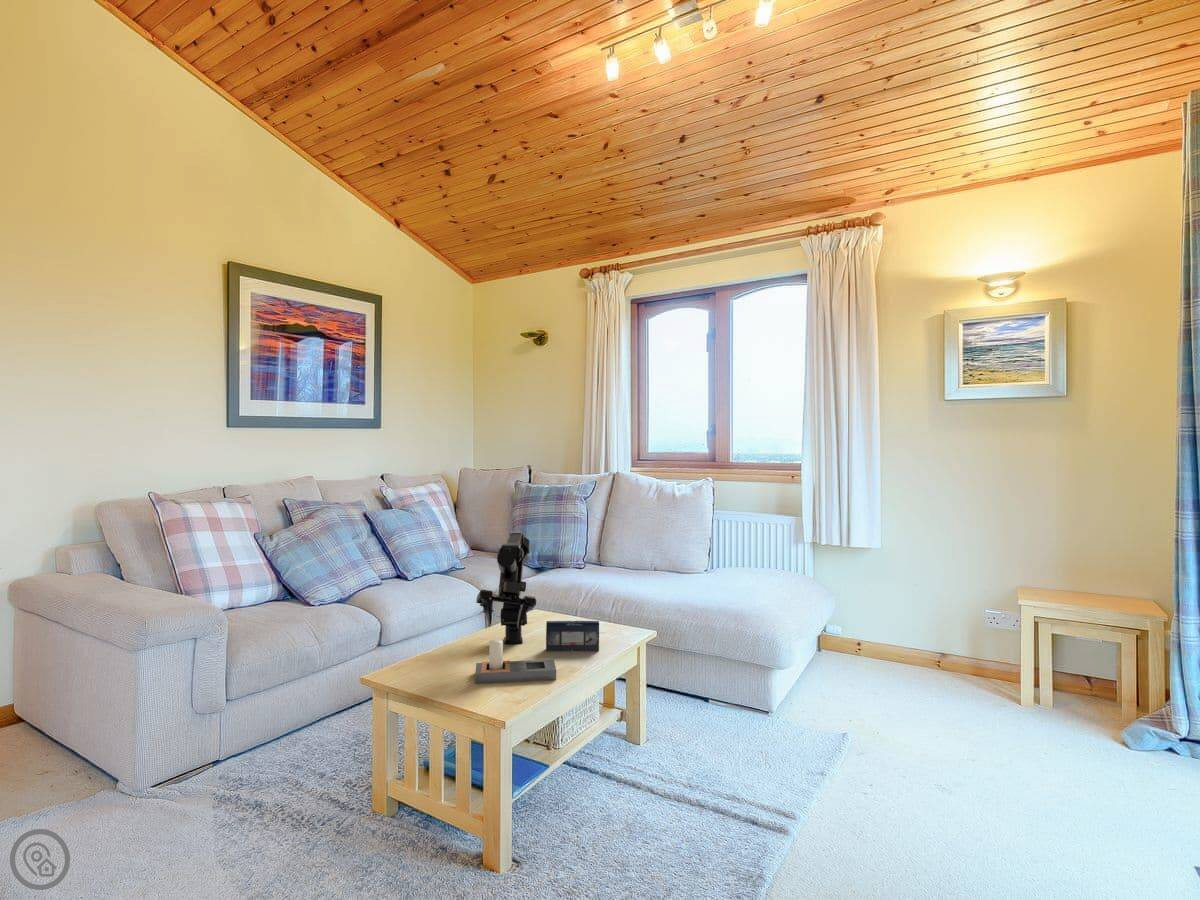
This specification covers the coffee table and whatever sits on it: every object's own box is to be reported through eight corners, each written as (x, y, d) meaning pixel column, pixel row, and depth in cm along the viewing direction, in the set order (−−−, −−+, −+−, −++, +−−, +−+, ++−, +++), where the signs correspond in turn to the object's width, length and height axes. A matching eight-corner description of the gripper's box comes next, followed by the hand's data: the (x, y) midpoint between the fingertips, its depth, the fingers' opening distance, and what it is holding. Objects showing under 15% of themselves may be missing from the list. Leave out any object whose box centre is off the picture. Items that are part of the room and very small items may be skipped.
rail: (476, 672, 188) (476, 662, 188) (553, 668, 192) (553, 658, 192) (475, 684, 179) (475, 672, 179) (556, 679, 183) (556, 668, 183)
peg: (492, 674, 187) (492, 638, 187) (504, 675, 186) (504, 639, 186) (487, 679, 183) (487, 642, 183) (499, 680, 182) (500, 643, 182)
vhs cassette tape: (545, 651, 208) (545, 622, 208) (546, 648, 211) (546, 620, 211) (599, 652, 208) (599, 623, 208) (599, 649, 211) (599, 620, 211)
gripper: (486, 566, 193) (481, 613, 184) (542, 574, 199) (539, 621, 190) (478, 579, 202) (473, 625, 193) (532, 587, 208) (529, 632, 199)
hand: (504, 625), depth 193 cm, fingers open, 9 cm apart
